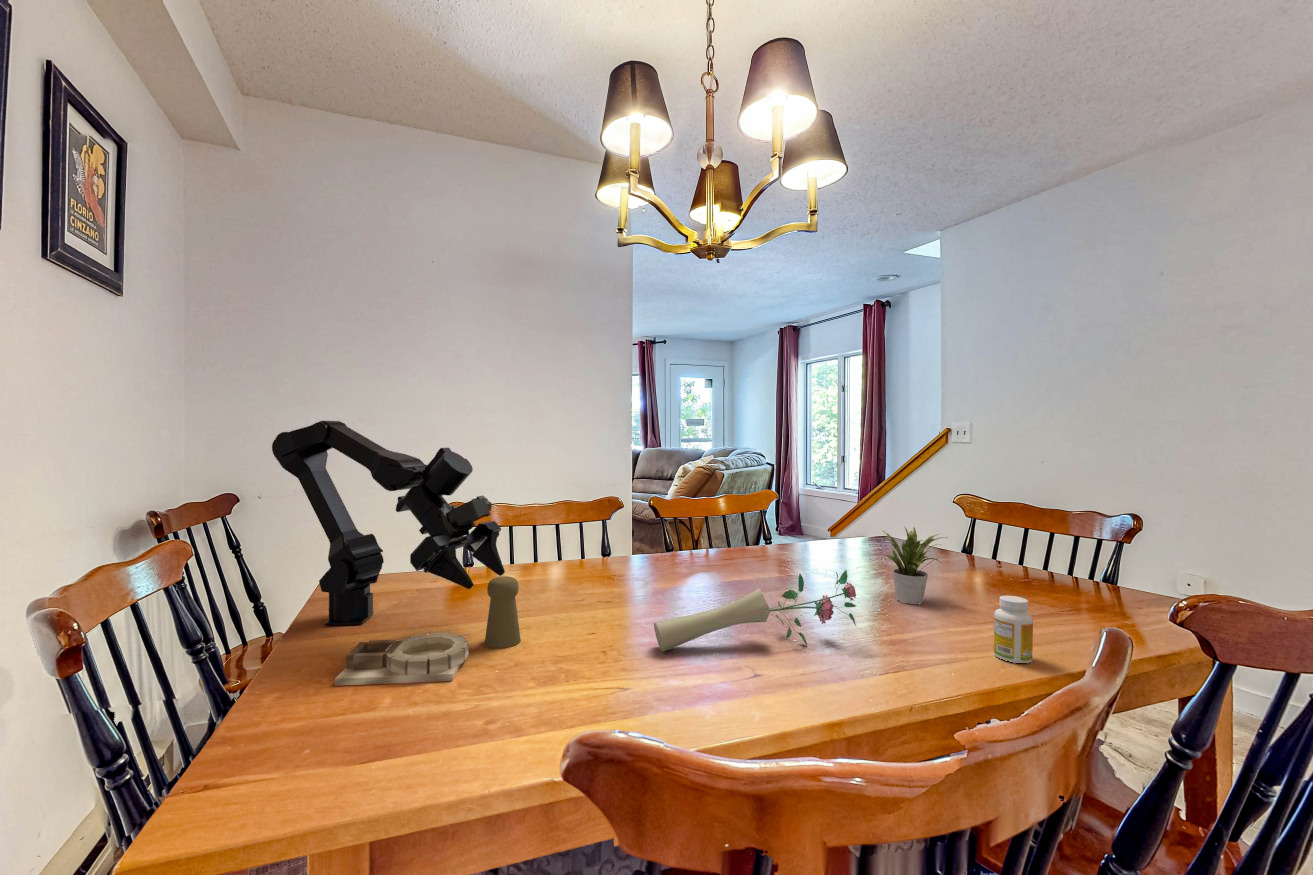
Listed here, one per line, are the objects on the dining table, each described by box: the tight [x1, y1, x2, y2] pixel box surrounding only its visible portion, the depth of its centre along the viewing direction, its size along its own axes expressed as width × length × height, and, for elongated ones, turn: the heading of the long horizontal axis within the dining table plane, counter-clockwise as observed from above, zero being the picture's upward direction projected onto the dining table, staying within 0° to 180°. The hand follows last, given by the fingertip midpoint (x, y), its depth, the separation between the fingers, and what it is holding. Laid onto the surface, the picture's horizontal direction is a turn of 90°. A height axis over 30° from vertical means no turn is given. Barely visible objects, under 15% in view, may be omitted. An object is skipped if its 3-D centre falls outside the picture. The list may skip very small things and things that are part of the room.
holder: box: [334, 631, 470, 687], centre depth 89 cm, size 17×12×3 cm
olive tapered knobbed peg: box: [484, 575, 522, 649], centre depth 99 cm, size 6×6×11 cm
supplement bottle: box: [993, 595, 1034, 664], centre depth 95 cm, size 5×5×10 cm
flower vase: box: [653, 569, 857, 653], centre depth 99 cm, size 12×12×35 cm
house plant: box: [880, 525, 948, 605], centre depth 124 cm, size 14×14×16 cm
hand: (487, 580), depth 100 cm, fingers open, 9 cm apart
